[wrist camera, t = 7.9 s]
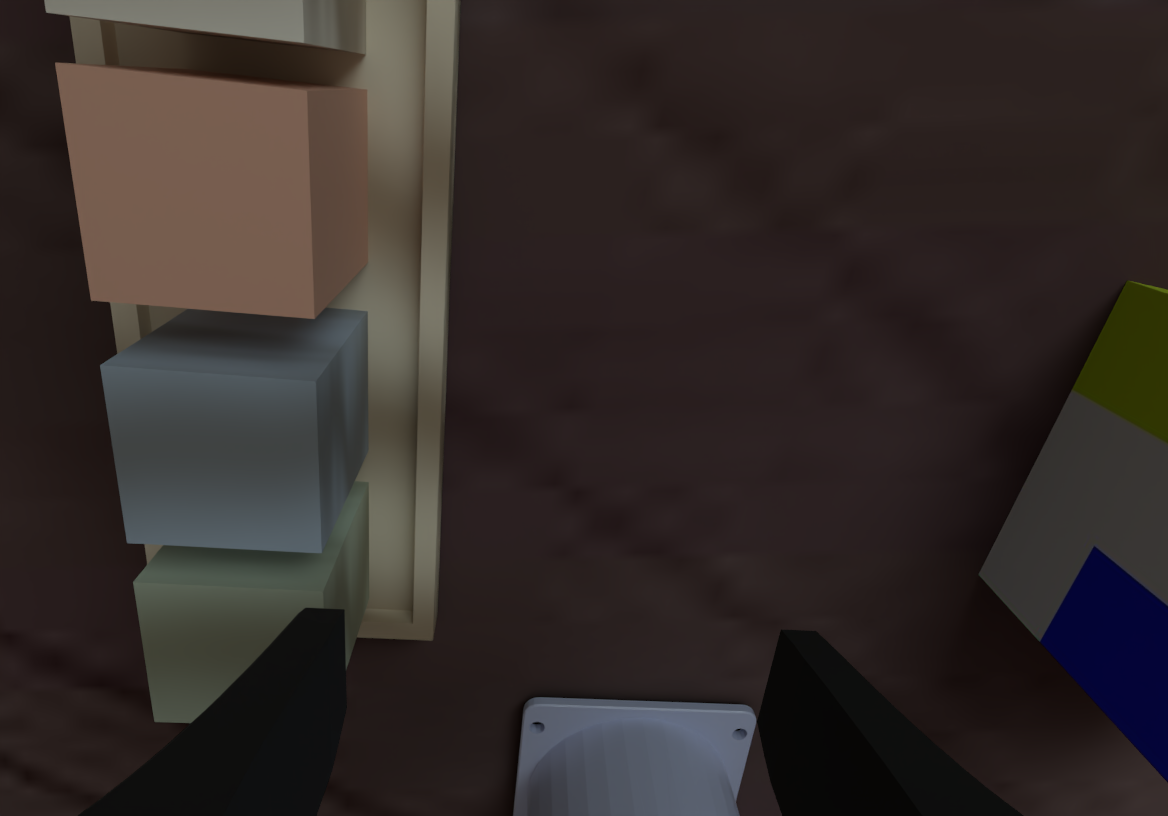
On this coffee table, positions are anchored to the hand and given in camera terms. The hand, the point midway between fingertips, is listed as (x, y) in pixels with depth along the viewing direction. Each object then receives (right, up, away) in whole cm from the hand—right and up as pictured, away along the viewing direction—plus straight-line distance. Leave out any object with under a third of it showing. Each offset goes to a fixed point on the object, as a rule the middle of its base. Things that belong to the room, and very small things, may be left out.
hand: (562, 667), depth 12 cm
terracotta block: (-7, +10, +5) cm, 13 cm away
